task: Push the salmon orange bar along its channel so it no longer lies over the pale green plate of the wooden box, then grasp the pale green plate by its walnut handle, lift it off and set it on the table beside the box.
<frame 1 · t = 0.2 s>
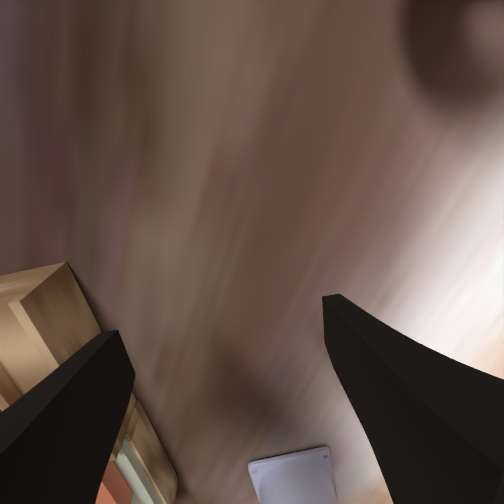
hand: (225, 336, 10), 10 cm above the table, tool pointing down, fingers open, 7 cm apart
key channel: (75, 345, 22), on the table
salmon orange bar: (87, 469, 21), point 5 cm above the table, slide at 0.0 cm
wooden box: (73, 460, 27), on the table
pale green plate: (56, 498, 24), point 3 cm above the table, touching wooden box
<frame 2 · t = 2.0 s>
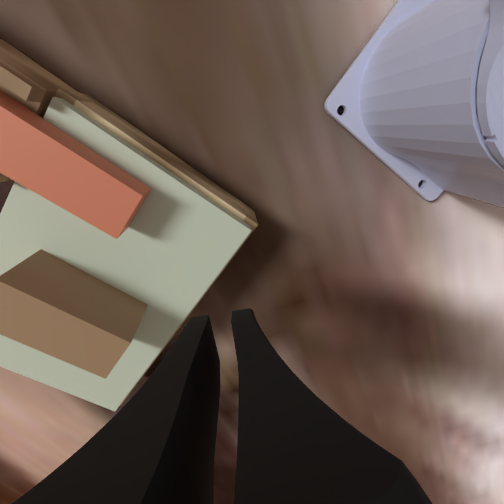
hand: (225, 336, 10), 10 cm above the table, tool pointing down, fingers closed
salmon orange bar: (24, 145, 12), point 5 cm above the table, slide at 0.0 cm
wooden box: (115, 260, 20), on the table
pale green plate: (96, 282, 17), point 3 cm above the table, touching wooden box
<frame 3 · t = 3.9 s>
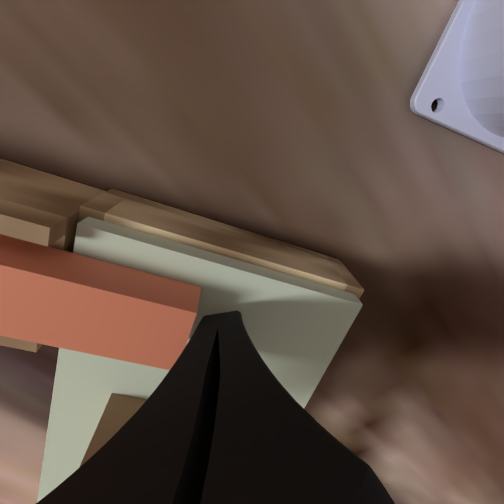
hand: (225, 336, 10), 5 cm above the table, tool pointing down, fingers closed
salmon orange bar: (30, 290, 9), point 5 cm above the table, slide at 0.9 cm, touching gripper
wooden box: (189, 356, 17), on the table
pale green plate: (181, 403, 14), point 3 cm above the table, touching wooden box
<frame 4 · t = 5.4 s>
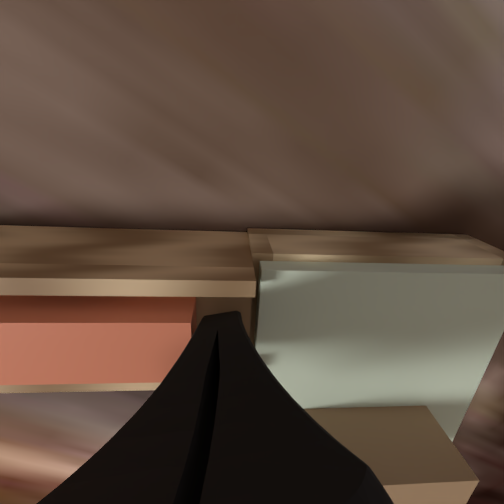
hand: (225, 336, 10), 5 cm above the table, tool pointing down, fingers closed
key channel: (109, 273, 14), on the table
salmon orange bar: (41, 338, 10), point 5 cm above the table, slide at 7.5 cm, touching gripper
wooden box: (334, 360, 17), on the table
pale green plate: (354, 404, 15), point 3 cm above the table, touching wooden box
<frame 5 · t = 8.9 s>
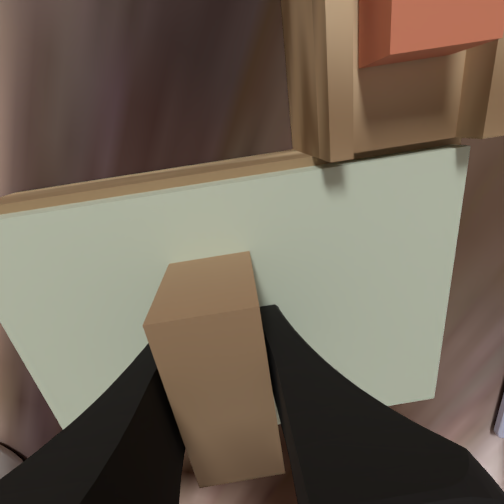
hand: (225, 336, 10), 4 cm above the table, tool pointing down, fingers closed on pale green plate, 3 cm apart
wooden box: (236, 280, 14), on the table
pale green plate: (238, 317, 11), point 3 cm above the table, touching gripper, wooden box
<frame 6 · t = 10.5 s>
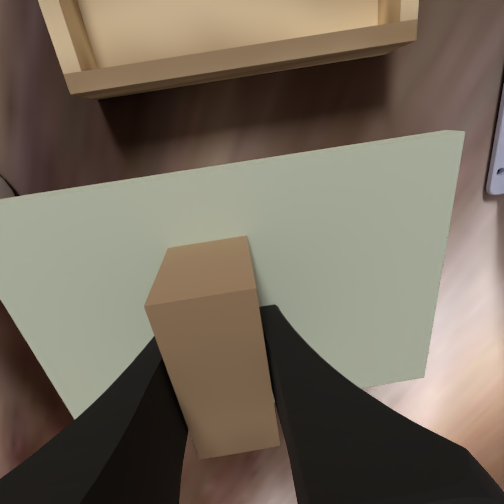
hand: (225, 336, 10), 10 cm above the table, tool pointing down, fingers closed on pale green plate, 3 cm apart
pale green plate: (236, 300, 12), point 9 cm above the table, touching gripper
when the fingers open (3 cm above the table, at t = 12.3 s): pale green plate drops 2 cm, on the table.
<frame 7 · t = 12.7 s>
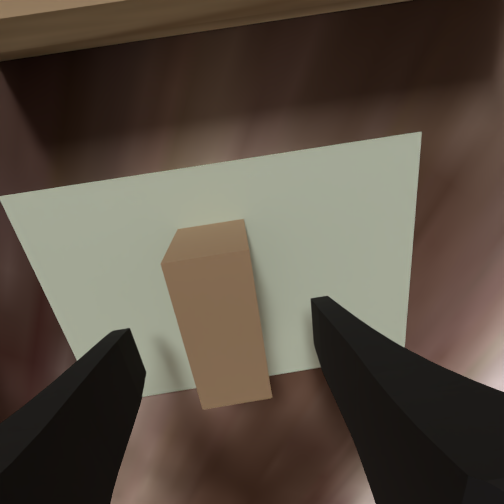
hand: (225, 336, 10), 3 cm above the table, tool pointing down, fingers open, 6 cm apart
pale green plate: (235, 279, 13), on the table
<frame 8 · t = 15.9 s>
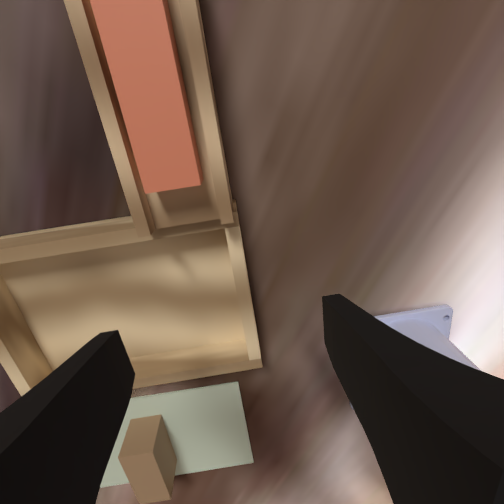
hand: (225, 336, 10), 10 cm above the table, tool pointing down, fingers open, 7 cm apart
key channel: (170, 88, 16), on the table
salmon orange bar: (144, 56, 11), point 5 cm above the table, slide at 7.6 cm
wooden box: (134, 294, 21), on the table
pale green plate: (162, 430, 27), on the table
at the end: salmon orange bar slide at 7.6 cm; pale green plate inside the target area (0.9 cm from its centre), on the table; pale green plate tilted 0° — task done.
